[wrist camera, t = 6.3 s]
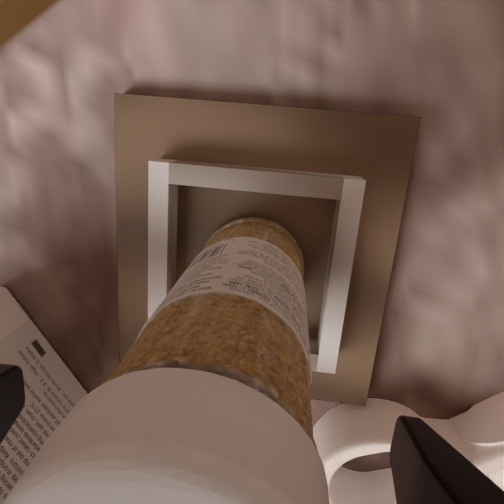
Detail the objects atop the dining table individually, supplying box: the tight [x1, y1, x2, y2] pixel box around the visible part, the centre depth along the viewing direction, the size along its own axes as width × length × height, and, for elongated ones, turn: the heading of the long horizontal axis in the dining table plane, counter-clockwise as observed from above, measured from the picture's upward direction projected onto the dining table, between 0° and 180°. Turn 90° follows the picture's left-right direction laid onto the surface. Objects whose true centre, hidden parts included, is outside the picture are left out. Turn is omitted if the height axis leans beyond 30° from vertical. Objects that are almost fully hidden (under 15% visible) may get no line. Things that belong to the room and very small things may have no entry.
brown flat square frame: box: [114, 93, 421, 406], centre depth 17 cm, size 13×12×2 cm
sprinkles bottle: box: [3, 217, 330, 504], centre depth 11 cm, size 5×5×14 cm
